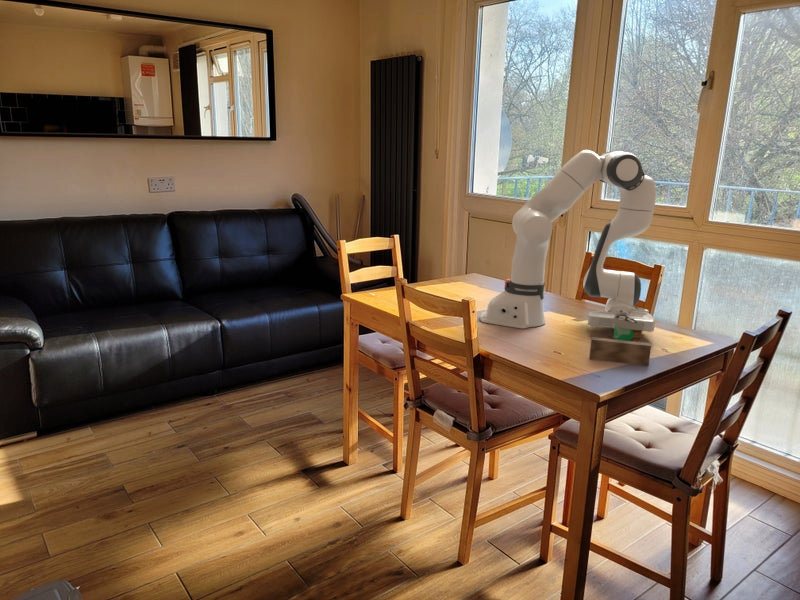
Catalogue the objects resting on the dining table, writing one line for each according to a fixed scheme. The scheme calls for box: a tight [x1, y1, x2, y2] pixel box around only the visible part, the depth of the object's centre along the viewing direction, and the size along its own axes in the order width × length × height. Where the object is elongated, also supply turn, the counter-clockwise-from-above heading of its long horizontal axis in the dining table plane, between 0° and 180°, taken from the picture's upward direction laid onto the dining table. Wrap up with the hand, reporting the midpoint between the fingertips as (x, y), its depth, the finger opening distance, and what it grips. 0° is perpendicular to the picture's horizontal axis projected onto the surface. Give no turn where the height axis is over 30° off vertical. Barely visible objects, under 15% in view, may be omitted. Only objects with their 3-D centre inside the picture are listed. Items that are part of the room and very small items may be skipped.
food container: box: [612, 312, 643, 342], centre depth 182 cm, size 12×6×10 cm, turn 4°
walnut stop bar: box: [589, 336, 652, 367], centre depth 172 cm, size 16×2×6 cm, turn 73°
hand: (621, 328), depth 187 cm, fingers closed
